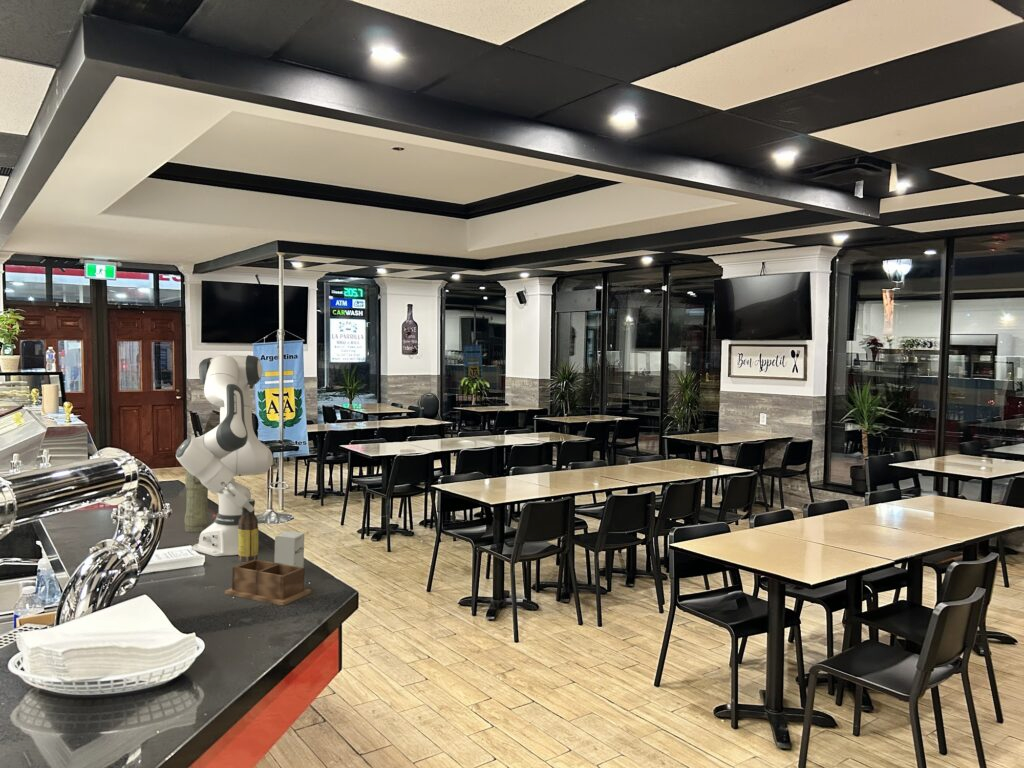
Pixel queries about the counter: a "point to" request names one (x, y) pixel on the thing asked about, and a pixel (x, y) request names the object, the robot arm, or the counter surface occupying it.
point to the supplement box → (289, 549)
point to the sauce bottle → (248, 535)
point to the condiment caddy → (268, 582)
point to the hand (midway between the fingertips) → (251, 508)
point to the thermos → (196, 505)
